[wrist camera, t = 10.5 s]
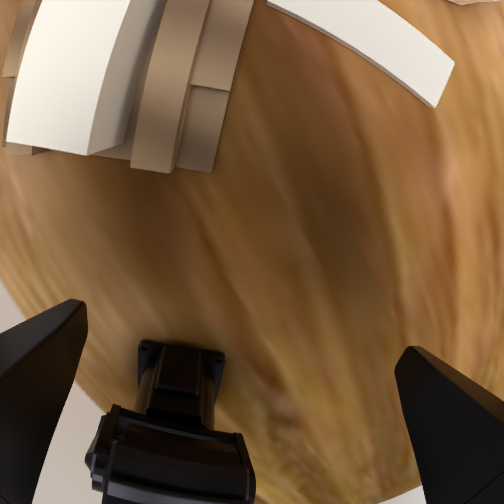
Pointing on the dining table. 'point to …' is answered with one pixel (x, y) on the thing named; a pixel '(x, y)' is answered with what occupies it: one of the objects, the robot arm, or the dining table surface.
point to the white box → (81, 73)
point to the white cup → (471, 1)
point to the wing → (378, 41)
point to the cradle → (165, 84)
